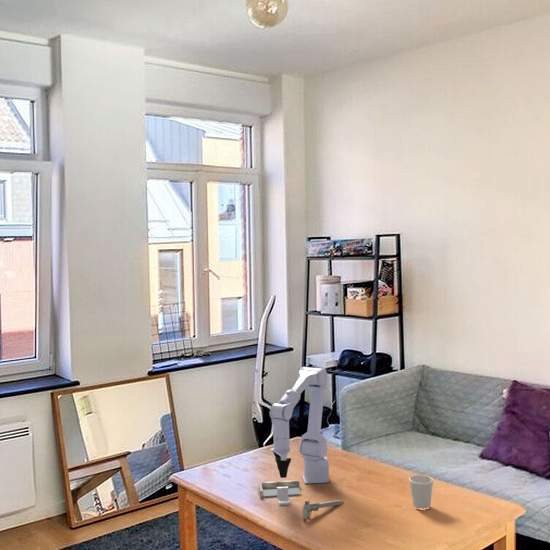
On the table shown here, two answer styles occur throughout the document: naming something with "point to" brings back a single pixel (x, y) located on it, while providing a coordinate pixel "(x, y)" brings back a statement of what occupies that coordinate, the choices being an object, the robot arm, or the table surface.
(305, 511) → the caliper
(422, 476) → the dixie cup
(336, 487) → the table surface
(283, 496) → the bracket
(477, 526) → the table surface
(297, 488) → the board
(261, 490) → the side wall
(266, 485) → the back wall
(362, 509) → the table surface
